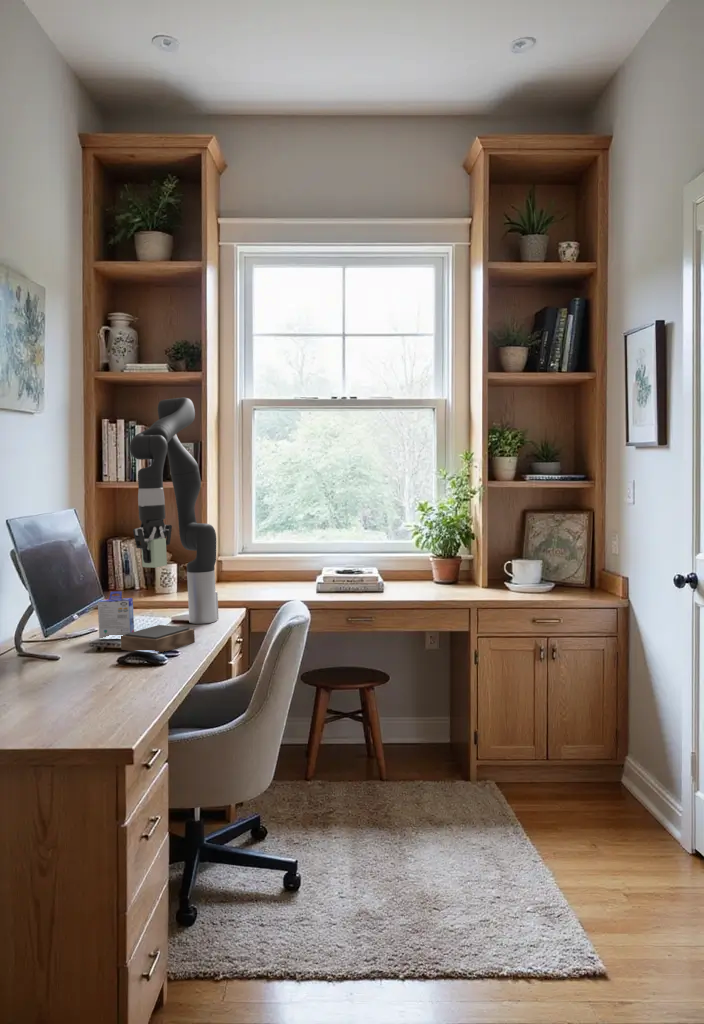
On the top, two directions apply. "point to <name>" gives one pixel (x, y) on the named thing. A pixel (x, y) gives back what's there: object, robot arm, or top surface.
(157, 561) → the sage block
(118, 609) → the ink cartridge box
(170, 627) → the walnut base
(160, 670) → the top surface
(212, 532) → the robot arm
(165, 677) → the top surface
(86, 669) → the top surface
